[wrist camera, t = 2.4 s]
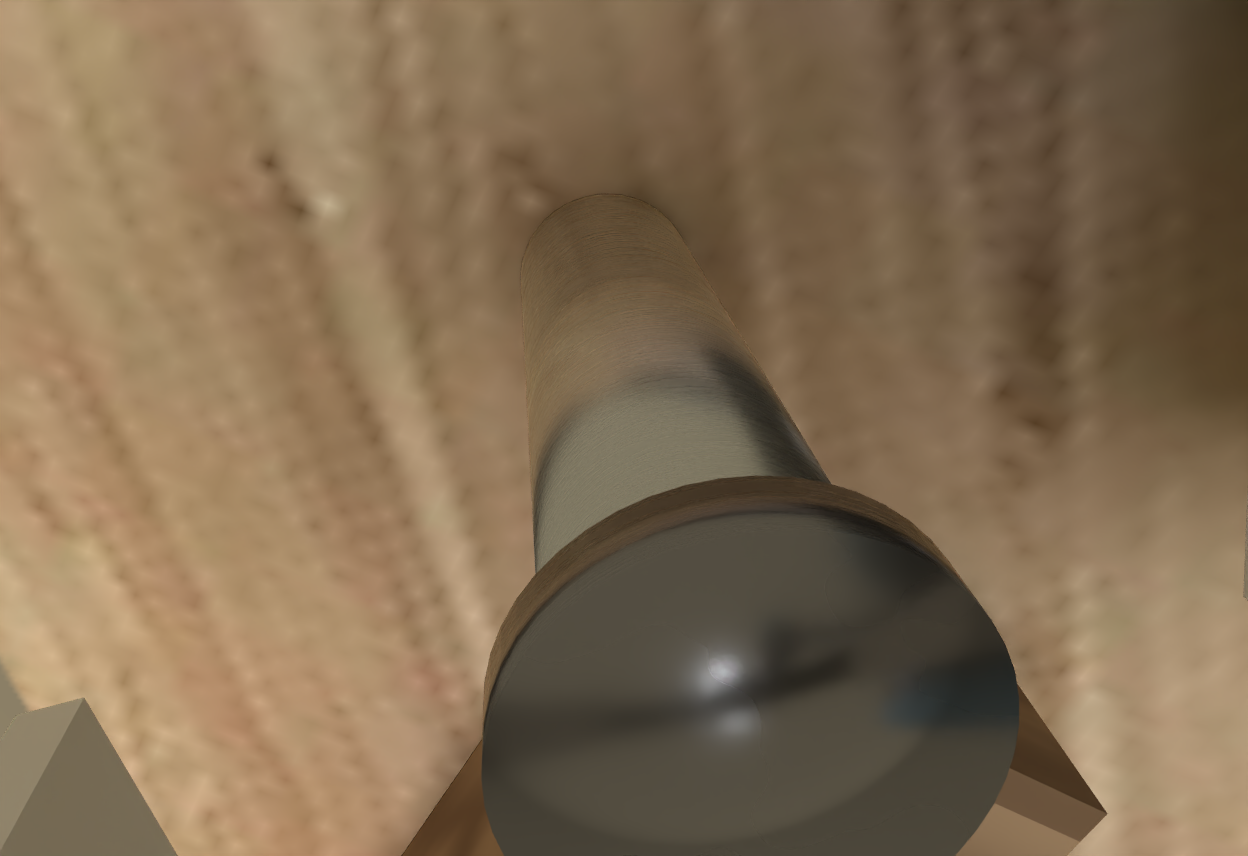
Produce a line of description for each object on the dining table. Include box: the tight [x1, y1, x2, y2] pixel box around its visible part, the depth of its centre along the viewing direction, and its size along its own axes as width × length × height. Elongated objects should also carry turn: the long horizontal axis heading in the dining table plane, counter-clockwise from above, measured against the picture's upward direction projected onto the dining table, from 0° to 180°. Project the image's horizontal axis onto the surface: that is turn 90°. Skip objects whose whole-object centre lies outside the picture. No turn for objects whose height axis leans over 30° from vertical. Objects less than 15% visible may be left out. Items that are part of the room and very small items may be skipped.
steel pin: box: [481, 194, 1019, 856], centre depth 17 cm, size 5×5×16 cm
